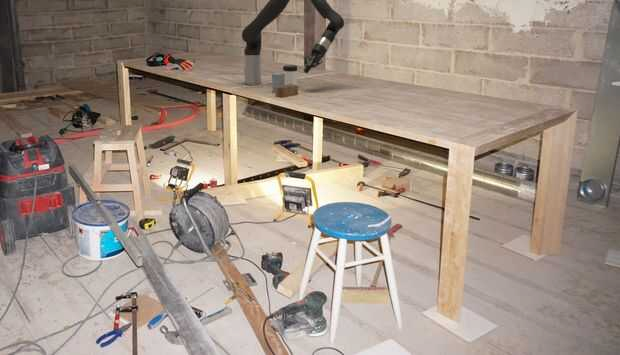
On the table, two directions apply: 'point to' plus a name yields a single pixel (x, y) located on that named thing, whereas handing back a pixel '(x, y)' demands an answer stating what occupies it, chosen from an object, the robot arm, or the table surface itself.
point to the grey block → (278, 80)
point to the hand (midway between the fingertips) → (305, 72)
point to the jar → (290, 74)
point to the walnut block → (286, 90)
